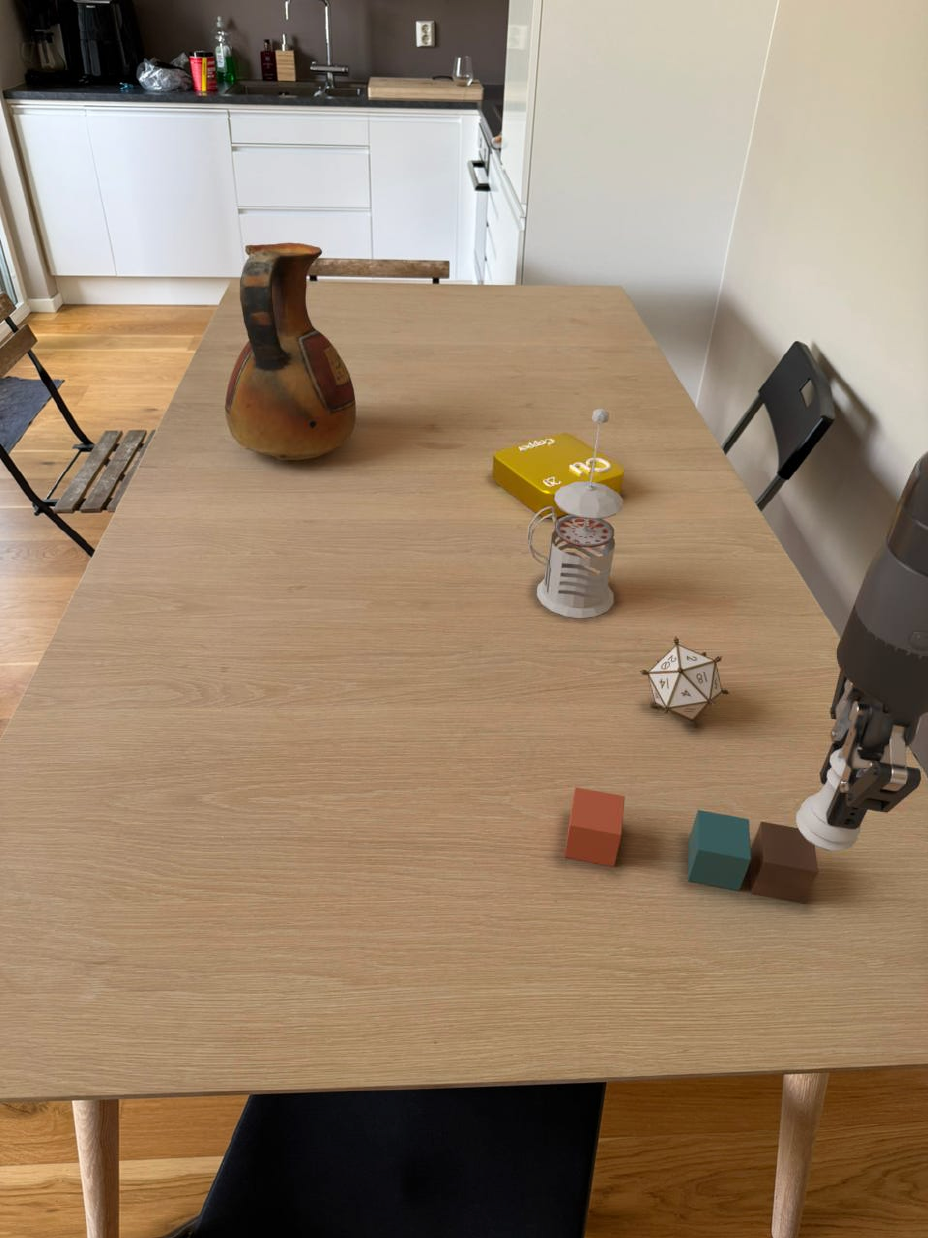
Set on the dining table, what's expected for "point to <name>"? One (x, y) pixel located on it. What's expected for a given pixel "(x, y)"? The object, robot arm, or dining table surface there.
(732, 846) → the teal block
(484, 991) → the dining table surface
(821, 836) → the rook chess piece
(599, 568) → the french press
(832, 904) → the dining table surface
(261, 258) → the ceramic pitcher
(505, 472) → the element tile
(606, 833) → the terracotta block
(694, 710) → the game die
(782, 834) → the walnut block
